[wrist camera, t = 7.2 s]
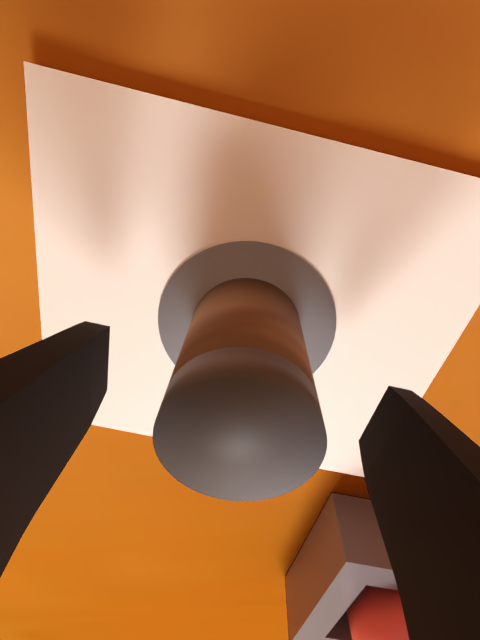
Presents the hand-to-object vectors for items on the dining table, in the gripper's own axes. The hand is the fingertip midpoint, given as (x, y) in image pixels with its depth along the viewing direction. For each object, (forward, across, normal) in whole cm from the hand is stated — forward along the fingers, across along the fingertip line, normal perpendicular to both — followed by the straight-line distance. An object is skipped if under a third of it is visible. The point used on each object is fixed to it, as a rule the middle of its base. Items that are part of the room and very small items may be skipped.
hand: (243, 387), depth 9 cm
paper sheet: (+4, 0, 0) cm, 4 cm away
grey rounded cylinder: (+3, 0, 0) cm, 3 cm away
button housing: (+4, -10, +12) cm, 16 cm away
